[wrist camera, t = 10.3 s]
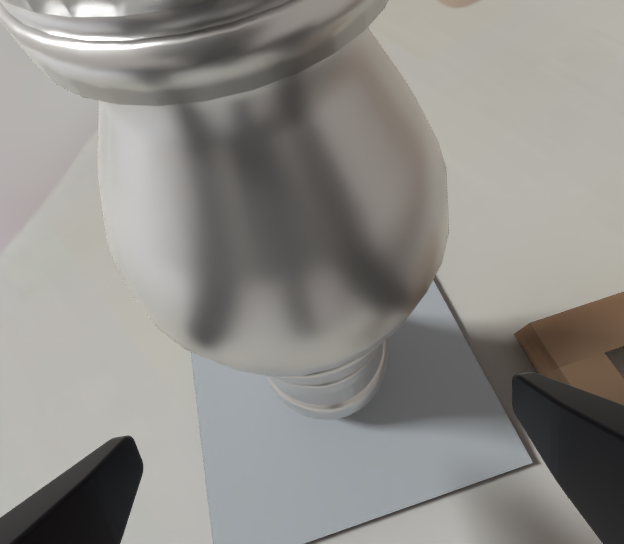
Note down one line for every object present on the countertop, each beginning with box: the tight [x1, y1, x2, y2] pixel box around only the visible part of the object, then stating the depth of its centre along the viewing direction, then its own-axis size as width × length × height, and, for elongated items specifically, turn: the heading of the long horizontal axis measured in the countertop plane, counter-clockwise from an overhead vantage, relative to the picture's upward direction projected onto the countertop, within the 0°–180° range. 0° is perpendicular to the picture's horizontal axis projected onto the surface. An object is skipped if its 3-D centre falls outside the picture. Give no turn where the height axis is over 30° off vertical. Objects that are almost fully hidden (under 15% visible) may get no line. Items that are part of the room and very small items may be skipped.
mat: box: [191, 280, 533, 544], centre depth 20 cm, size 16×16×1 cm
